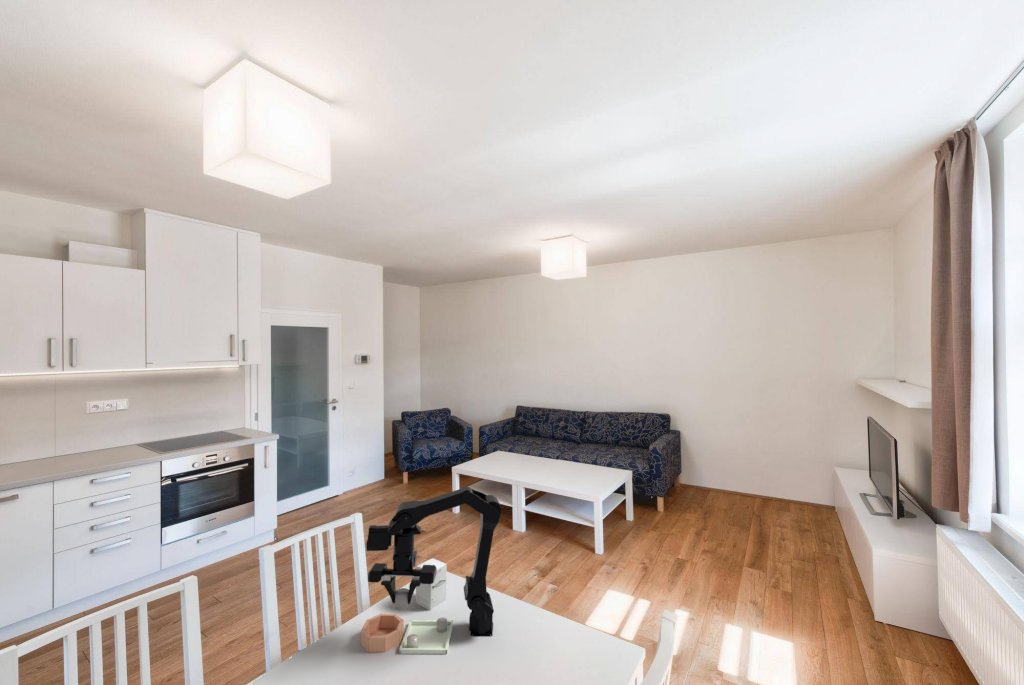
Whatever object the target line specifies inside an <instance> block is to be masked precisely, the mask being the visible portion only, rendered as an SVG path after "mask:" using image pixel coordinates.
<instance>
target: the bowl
mask: <svg viewBox="0 0 1024 685" xmlns="http://www.w3.org/2000/svg"><path fill="white" fill-rule="evenodd" d="M404 622H405V621H404V619H403V618H402V617H401V616H400V615H398V614H397V613H379V614H377V615H374V616H373V617H370V618H367V619H366V620H365V622H364V624H363V626H362V627H361V632H360V644H361V646H362V647H363V648H364V649H365V650H366V651H367V652H368V653H387V652H388V651H390V650H391V649H393V648H395V647H397V646H399V645H401V643H402V640H403V638H404V635H405V633H404V631H405V630H404V629H405V628H404V624H405V623H404Z"/></svg>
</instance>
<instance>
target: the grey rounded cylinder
mask: <svg viewBox="0 0 1024 685" xmlns="http://www.w3.org/2000/svg"><path fill="white" fill-rule="evenodd" d="M408 595H409V589H408V588H406V587H401V588H399V589H396V592H395V604H394V608H395V610H398V611H403V610H406V609H408V608H409V606H410V604H408Z"/></svg>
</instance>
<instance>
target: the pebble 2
mask: <svg viewBox="0 0 1024 685" xmlns="http://www.w3.org/2000/svg"><path fill="white" fill-rule="evenodd" d="M436 620H437V631H438V632H439V633H443V632H445V631H446V630H447V620H448V619H447V618H446V617H439V618H437V619H436Z"/></svg>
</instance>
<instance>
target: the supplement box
mask: <svg viewBox="0 0 1024 685" xmlns="http://www.w3.org/2000/svg"><path fill="white" fill-rule="evenodd" d="M423 565H435V566H436V568H437V570H436V576H435V580H434V583H432V584H422V583H421V585H420V586H417V587H416V588H415V604H417V605H418V606H421V607H423V608H424V609H425V610H426V609H427V610H429V611H432V610H434V609H435V608H436V607H438V606H440V605H441V604H443V603H444V602H446V601H447V570H448V569H447V563H445V562H442V561H440V560H438V559H436V558H433V557H432V558H430V559H428V560H426V561H424V562H422V563H420V564H418V565H415V566H416V568H415V569H422V567H423Z"/></svg>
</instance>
